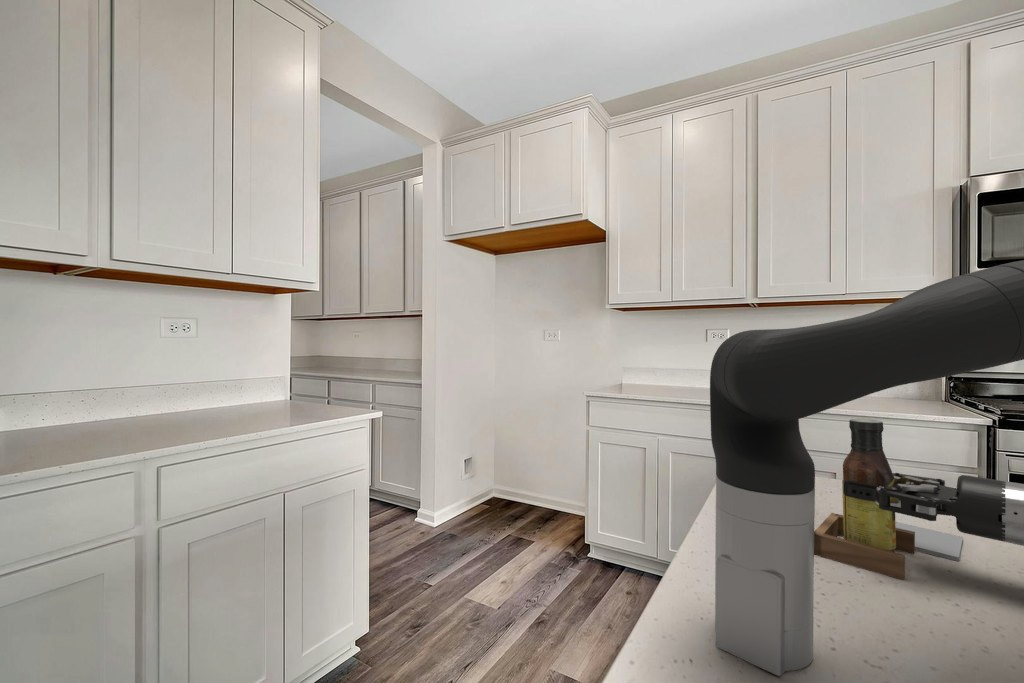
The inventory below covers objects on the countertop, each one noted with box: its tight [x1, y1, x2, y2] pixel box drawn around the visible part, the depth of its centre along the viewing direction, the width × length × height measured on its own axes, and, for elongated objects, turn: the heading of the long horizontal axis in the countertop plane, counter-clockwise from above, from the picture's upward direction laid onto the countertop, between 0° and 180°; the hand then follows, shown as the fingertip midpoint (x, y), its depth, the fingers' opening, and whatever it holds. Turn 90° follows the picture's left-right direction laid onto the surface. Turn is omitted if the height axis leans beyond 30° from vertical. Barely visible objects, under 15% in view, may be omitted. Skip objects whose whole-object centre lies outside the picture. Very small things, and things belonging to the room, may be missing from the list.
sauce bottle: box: [841, 417, 896, 552], centre depth 70 cm, size 7×6×20 cm
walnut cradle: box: [814, 512, 916, 581], centre depth 71 cm, size 12×11×3 cm
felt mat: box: [895, 521, 964, 562], centre depth 75 cm, size 10×9×1 cm
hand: (849, 482), depth 72 cm, fingers closed on sauce bottle, 6 cm apart
